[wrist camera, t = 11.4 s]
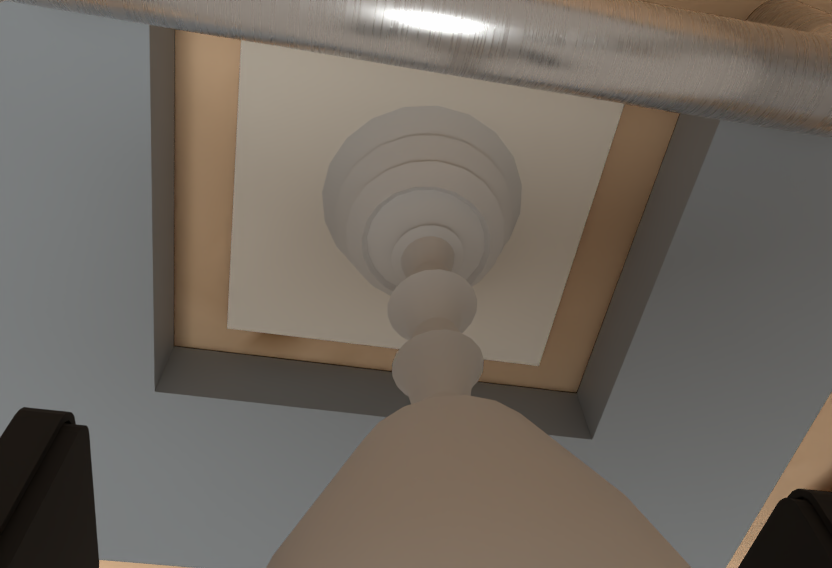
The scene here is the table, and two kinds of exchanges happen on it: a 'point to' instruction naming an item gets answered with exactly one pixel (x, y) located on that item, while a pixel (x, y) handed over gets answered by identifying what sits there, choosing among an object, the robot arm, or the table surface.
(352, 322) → the felt pad
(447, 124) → the chalice
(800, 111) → the metal bar handle
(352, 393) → the grey rectangular frame
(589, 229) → the table surface
